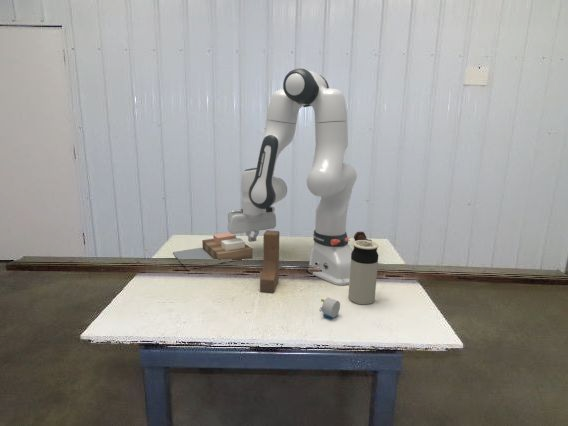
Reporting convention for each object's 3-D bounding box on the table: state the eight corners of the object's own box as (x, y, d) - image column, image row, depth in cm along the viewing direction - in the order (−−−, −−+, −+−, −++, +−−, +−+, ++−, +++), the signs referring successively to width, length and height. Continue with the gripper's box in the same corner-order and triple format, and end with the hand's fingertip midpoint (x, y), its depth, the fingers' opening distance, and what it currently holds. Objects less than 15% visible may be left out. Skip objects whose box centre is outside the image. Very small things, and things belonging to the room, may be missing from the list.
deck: (252, 258, 146) (252, 248, 145) (218, 264, 139) (218, 254, 138) (233, 244, 162) (233, 235, 161) (202, 249, 155) (202, 240, 154)
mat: (218, 264, 138) (218, 263, 138) (186, 270, 132) (186, 269, 132) (201, 248, 155) (201, 247, 155) (172, 253, 149) (172, 252, 149)
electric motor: (327, 307, 108) (328, 292, 107) (341, 313, 105) (342, 297, 104) (314, 316, 103) (314, 300, 101) (328, 322, 100) (329, 306, 99)
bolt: (369, 257, 155) (357, 244, 169) (380, 251, 155) (366, 239, 169) (364, 246, 153) (351, 234, 167) (374, 240, 153) (361, 228, 167)
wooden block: (273, 293, 116) (274, 239, 112) (259, 291, 117) (260, 238, 113) (278, 281, 125) (279, 230, 121) (265, 280, 126) (266, 229, 121)
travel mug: (355, 306, 109) (359, 249, 105) (344, 294, 116) (347, 240, 112) (379, 303, 111) (384, 247, 107) (366, 292, 118) (371, 238, 114)
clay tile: (236, 241, 153) (235, 235, 153) (217, 243, 149) (217, 238, 149) (231, 237, 158) (231, 232, 157) (213, 240, 154) (213, 234, 153)
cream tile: (244, 247, 146) (244, 241, 145) (225, 250, 142) (225, 244, 141) (239, 243, 150) (239, 238, 149) (221, 246, 146) (221, 240, 145)
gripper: (230, 212, 139) (231, 247, 142) (278, 207, 149) (277, 240, 152) (224, 209, 144) (225, 242, 147) (270, 204, 154) (270, 235, 157)
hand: (252, 241), depth 150 cm, fingers closed
